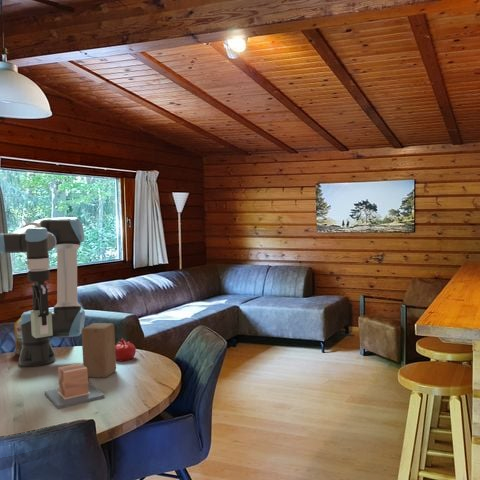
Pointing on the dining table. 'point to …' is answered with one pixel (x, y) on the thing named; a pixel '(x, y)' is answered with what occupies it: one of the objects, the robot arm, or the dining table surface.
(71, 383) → the terracotta block
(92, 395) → the board
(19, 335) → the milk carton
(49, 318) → the sage block
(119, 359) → the pomegranate
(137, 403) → the dining table surface
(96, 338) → the wooden block
